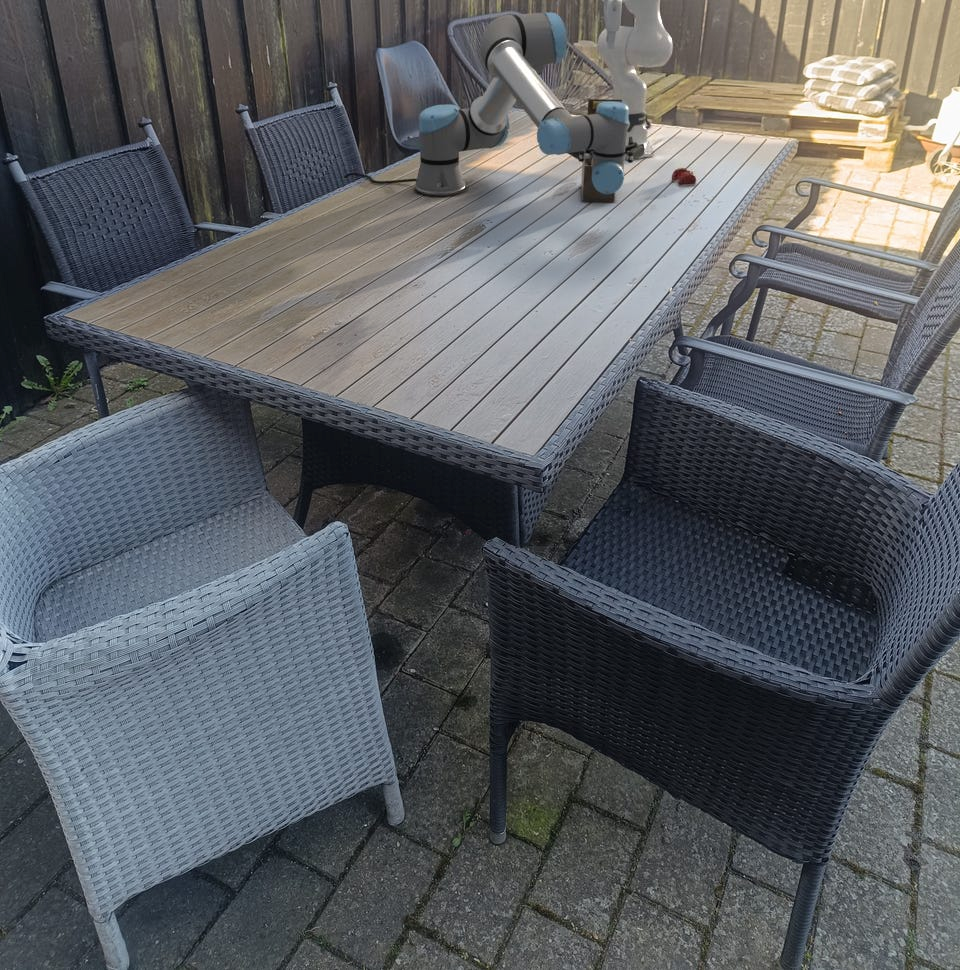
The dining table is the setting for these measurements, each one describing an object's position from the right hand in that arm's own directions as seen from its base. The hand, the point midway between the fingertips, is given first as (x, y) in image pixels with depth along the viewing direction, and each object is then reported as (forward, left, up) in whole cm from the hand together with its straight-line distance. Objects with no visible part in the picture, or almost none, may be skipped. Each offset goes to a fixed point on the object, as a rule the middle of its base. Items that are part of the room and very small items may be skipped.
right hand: (609, 45), depth 228 cm
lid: (+1, 0, -22) cm, 22 cm away
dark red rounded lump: (-24, +23, -41) cm, 52 cm away
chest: (-4, -1, -41) cm, 41 cm away
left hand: (+15, +3, -21) cm, 26 cm away
